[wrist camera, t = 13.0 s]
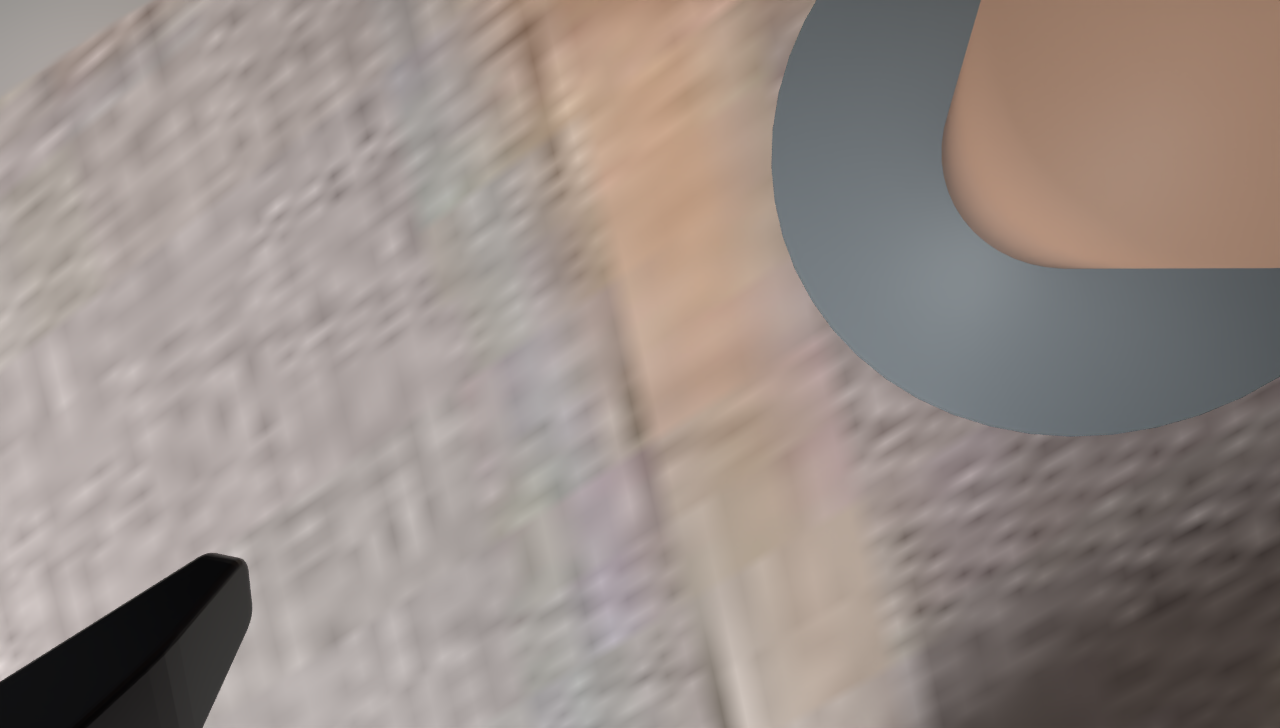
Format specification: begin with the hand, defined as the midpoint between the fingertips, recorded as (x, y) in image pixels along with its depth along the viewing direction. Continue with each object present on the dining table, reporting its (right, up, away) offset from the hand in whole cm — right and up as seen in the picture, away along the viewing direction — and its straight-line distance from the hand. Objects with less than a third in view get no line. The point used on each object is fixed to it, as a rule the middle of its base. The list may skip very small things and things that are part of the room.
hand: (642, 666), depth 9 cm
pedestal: (+9, +8, +10) cm, 16 cm away
